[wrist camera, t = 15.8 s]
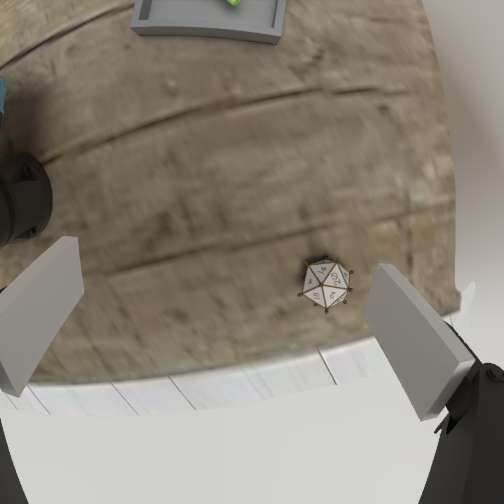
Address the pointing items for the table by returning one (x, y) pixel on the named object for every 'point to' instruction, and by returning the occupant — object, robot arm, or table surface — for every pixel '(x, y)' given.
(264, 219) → the table surface
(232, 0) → the green handled block
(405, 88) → the table surface
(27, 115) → the table surface
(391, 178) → the table surface
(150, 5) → the gray tray
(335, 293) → the game die
